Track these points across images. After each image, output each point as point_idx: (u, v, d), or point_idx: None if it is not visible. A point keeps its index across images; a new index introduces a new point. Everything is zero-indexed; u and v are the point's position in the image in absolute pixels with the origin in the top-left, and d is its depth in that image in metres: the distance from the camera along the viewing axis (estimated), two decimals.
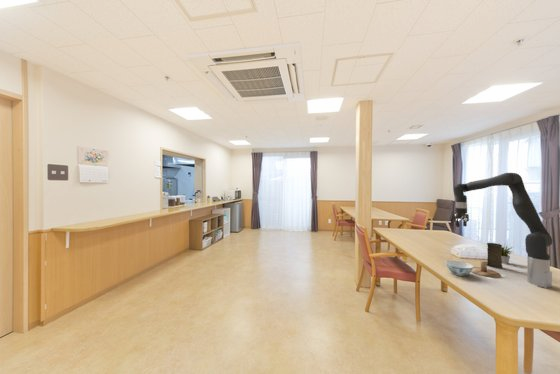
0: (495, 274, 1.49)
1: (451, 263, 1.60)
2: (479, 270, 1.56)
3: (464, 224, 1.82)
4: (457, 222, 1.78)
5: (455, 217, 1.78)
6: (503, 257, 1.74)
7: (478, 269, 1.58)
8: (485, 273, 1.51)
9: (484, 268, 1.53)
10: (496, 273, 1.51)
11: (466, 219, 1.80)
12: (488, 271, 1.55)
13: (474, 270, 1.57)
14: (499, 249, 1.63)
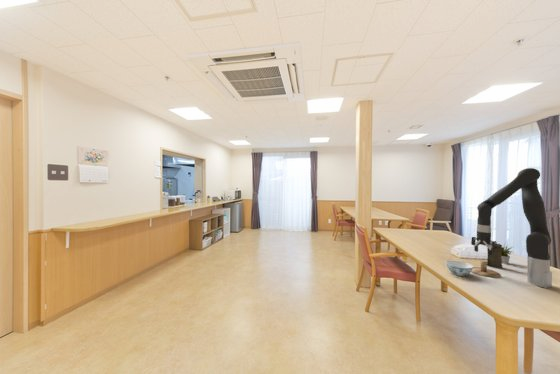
0: (495, 274, 1.49)
1: (451, 263, 1.60)
2: (479, 270, 1.56)
3: (477, 249, 1.59)
4: None
5: (495, 244, 1.48)
6: (503, 257, 1.74)
7: (478, 269, 1.58)
8: (485, 273, 1.51)
9: (484, 268, 1.53)
10: (496, 273, 1.51)
11: None
12: (488, 271, 1.55)
13: (474, 270, 1.57)
14: (499, 249, 1.63)
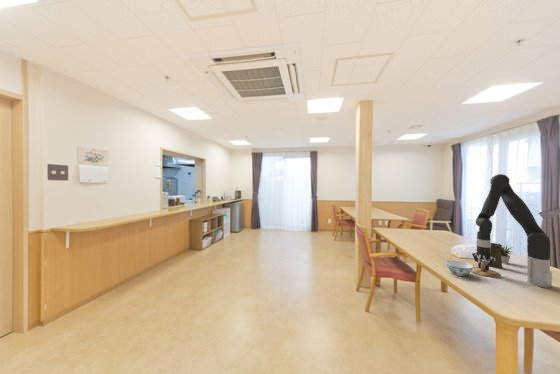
0: (495, 274, 1.49)
1: (451, 263, 1.60)
2: (479, 270, 1.56)
3: None
4: (489, 265, 1.52)
5: (493, 261, 1.49)
6: (503, 257, 1.74)
7: (478, 269, 1.58)
8: (485, 273, 1.51)
9: (484, 268, 1.53)
10: (496, 273, 1.51)
11: None
12: (488, 271, 1.55)
13: (474, 270, 1.56)
14: (499, 249, 1.63)
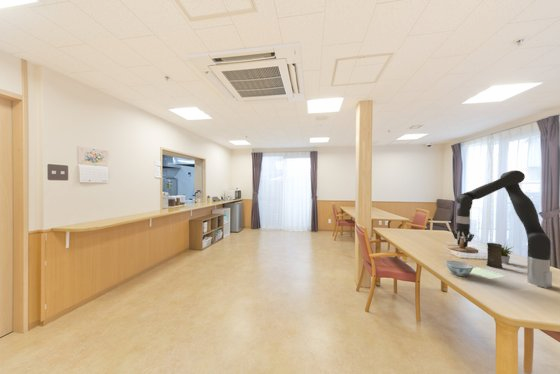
0: (473, 250, 1.49)
1: (451, 263, 1.60)
2: (458, 247, 1.56)
3: None
4: (467, 242, 1.52)
5: (471, 237, 1.49)
6: (503, 257, 1.74)
7: (458, 246, 1.58)
8: (463, 249, 1.51)
9: (463, 245, 1.53)
10: (474, 250, 1.51)
11: None
12: (467, 248, 1.54)
13: (453, 247, 1.56)
14: (499, 249, 1.63)
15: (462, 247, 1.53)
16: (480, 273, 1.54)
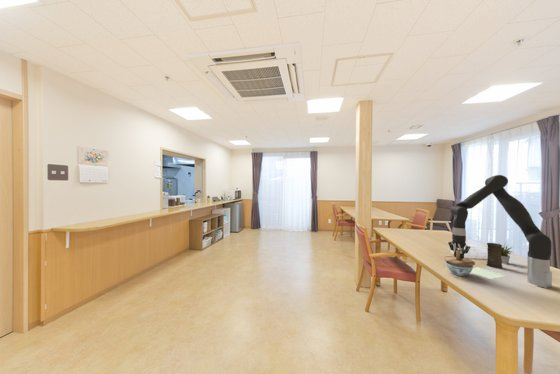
0: (470, 262, 1.48)
1: (451, 263, 1.60)
2: (455, 259, 1.55)
3: None
4: (464, 253, 1.50)
5: (468, 249, 1.48)
6: (503, 257, 1.74)
7: (454, 258, 1.56)
8: (460, 261, 1.50)
9: (459, 256, 1.52)
10: (471, 261, 1.49)
11: None
12: (463, 260, 1.53)
13: (450, 259, 1.55)
14: (499, 249, 1.63)
15: (459, 259, 1.52)
16: (480, 273, 1.54)
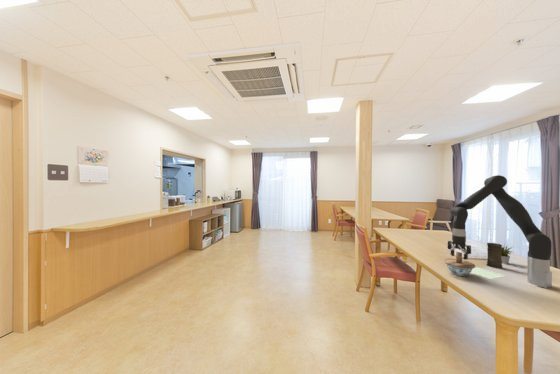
0: (470, 265, 1.48)
1: None
2: (455, 261, 1.55)
3: (453, 253, 1.57)
4: (467, 254, 1.48)
5: (469, 249, 1.46)
6: (503, 257, 1.74)
7: (454, 261, 1.56)
8: (460, 264, 1.49)
9: (459, 259, 1.52)
10: (471, 264, 1.49)
11: None
12: (463, 262, 1.53)
13: (450, 261, 1.55)
14: (499, 249, 1.63)
15: (459, 262, 1.52)
16: (480, 273, 1.54)
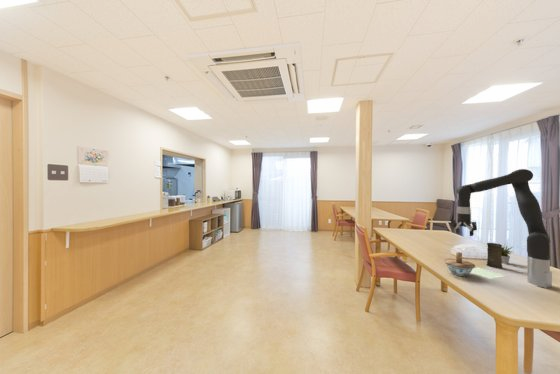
0: (470, 265, 1.48)
1: None
2: (455, 261, 1.55)
3: (458, 231, 1.62)
4: (473, 230, 1.53)
5: (475, 225, 1.51)
6: (503, 257, 1.74)
7: (454, 261, 1.56)
8: (460, 264, 1.49)
9: (459, 259, 1.52)
10: (471, 264, 1.49)
11: None
12: (463, 262, 1.53)
13: (450, 261, 1.55)
14: (499, 249, 1.63)
15: (459, 262, 1.52)
16: (480, 273, 1.54)
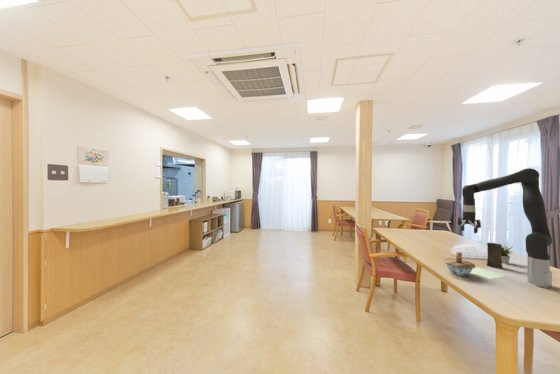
0: (470, 265, 1.48)
1: None
2: (455, 261, 1.55)
3: (463, 229, 1.68)
4: (477, 228, 1.59)
5: (479, 223, 1.58)
6: (503, 257, 1.74)
7: (454, 260, 1.56)
8: (460, 264, 1.49)
9: (459, 259, 1.52)
10: (471, 264, 1.49)
11: None
12: (463, 262, 1.53)
13: (450, 261, 1.55)
14: (499, 249, 1.63)
15: (459, 262, 1.52)
16: (480, 273, 1.54)
